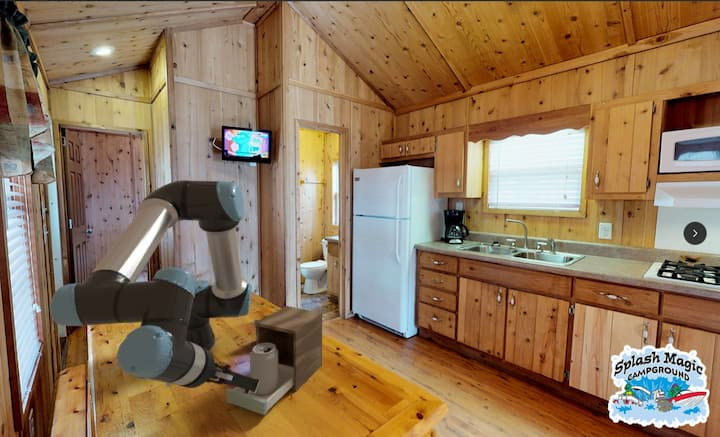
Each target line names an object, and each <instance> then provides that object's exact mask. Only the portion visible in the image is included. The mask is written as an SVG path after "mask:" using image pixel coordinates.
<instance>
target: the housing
mask: <svg viewBox="0 0 720 437" xmlns="http://www.w3.org/2000/svg"><path fill="white" fill-rule="evenodd" d="M266 316H267V317H266ZM266 316H265V317H266V318H264V317H263V318H264V319H263V318H261V319H262V320H261V319H259V320H260V321H258V322H257V338H256V345H258V344H261V343H272V344H274V345H275V346H276V349H277V350H278V363H281V364H284V365H288V366H291V367H294V385H293V386H292V387H291V388H290V389H289V390H288V391H292V392H297V391H298V390H300V388H301V387H302V386H304V385H305V383H306V382H307V381H308V380H309V379H310V378H311V377H312V376H313V375H315V373H316V372H317V371H319V369H320V368H322V366H323V312H320V311H314V310H311V309H310V310H309V309H304V308H300V307H299V308H298V307H294V306H289V305H285V306H284V307H281V308H280V309H277V310H276V311H275V312H272V313H271V314H269V316H268V315H266Z"/></svg>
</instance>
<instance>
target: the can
mask: <svg viewBox="0 0 720 437" xmlns="http://www.w3.org/2000/svg"><path fill="white" fill-rule="evenodd" d="M249 373H250V374H249V377H251V378H253V379H258V380H259V381H260V382H259V385H258V387H257V390H256V393H255V394H257V395H267V394H269V393H271V392H273V391H274V390H275V389H276V388H277V386H278V350H277V349H276V346H275V345H274V344H272V343H261V344H258V345H257V344H256V345H255V346H253V348H252V350H251V352H250V354H249Z"/></svg>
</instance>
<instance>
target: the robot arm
mask: <svg viewBox="0 0 720 437" xmlns="http://www.w3.org/2000/svg"><path fill="white" fill-rule="evenodd" d="M244 217H245V201H244V196H243V193H242V190H241V188H240V186H239V185H238V184H237V183H236V182H233V181H224V180H219V181H218V180H187V179H186V180H185V179H182V180H177V181H172V182H169V183H166V184H164V185H163V186H160V187H158V188H157V189H155V190H154V191H151V193H149V194H148V195H147V196H146V197H145V198H144V199H143V200H141V202H140V203H139V205H138V207H137V214H136V215H135V217H134V218H133V220H132V221H131V222H130V223H129V224H128V225H127V227H126V229H124V230H123V232H122V234H120V236H119V237H118V239H116V241H115V242H114V244H113V245H112V246H111V248H109V250H108V251H107V252H106V253H105V255H104V256H103V257H102V259H100V261H99V263H98V264H97V265H96V266H95V268H94V269H93V270H92V272H91V273H90V274H89V275H88V276H87V277H86V279H85V280H84V281H83V282H81V283H80V282H75V283H69V284H65V285H63V286H60V287H59V288H58V289H57V290H56V291H55V293H54V294H53V296H52V298H51V300H50V304H49V314H50V317H51V318H52V320H53V321H54V322H55V323H56V325H60V326H66V327H71V326H72V327H87V326H93V325H94V326H97V325H111V324H112V325H113V324H114V325H115V324H128V323H129V324H131V323H133V324H134V323H141V324H140V326H138V327H137V328H135V329H133V330H132V331H131V332H129V333H128V334H127V335H126V336H125V339H124V340H123V341H122V342H121V343H120V344H119V346H118V349H117V354H116V360H117V361H116V362H117V365H118V367H119V368H120V369H121V370H122V372H125V373H127V374H129V375H131V376H134V377H136V378H139V379H142V380H143V379H144V380H145V379H147V380H152V381H158V382H162V383H165V387H167V388H171V386H172V385H176V386H179V387H184V388H187V389H195V388H198V387H200V386H202V385H204V384H205V383H209V384H210V383H213V384H217V385H220V386H221V385H223V384H224V385H226V384H227V385H230V386H233V387H235V388H236V387H240V388H243V390H245V392H244V393H246V394H248V392H249V391H250V392H254V393H256V390H257V387H258V385H259V382H260V381H259V380H258V379H253V378H251V377H250V376H247V375H244V374H242V373H241V374H240V373H238V372H235V371H232V370H231V369H229V368H228V367H226V366H222V365H221V364H220V365H219V363H217V362H215V357H214V355H213V353H212V352H211V351H210V349H212V348H213V347H215V345H216V335H215V333H214V330H213V328H212V325H211V323H210V319H219V318H220V319H221V318H222V319H224V318H225V319H226V318H229V319H230V318H239V317H245V316H248V315H249V312H250V307H251V303H252V302H251V301H252V300H251V299H252V294H253V293H252V292H253V285H252V284H250V283H248V282H247V279H246V278H245V277H243V276H242V270H241V262H240V254H239V247H238V238H237V231H236V230H237V229H236V228H237V227H238V226H239V225H240V221H242V220H243V219H244ZM180 221H197V222H198V226H199V228H200V230H202V231H204V232H205V234H206V240H207V245H208V250H209V254H210V255H209V256H210V261H211V265H212V272H213V276H214V282H213V283H212V285H210V282H209V281H208V280H197V279H196V276H195V275H194V273H193V272H192V271H190V270H188V269H184V268H181V267H172V266H171V267H165V268H161V269H158V270H157V271H156V273H155V275H153V276H154V277H152V280H150V281H149V280H146V281H144V280H143V281H138V279H139V277H140V275H141V274H142V272H143V271H144V269H145V267H146V266H147V264H148V262H149V260H150V259H151V257H152V256H153V254H154V252H155V250H156V249H157V248H158V246H159V245H160V242H161V241H162V239H163V237H164V236H165V234H166V232H167V231H168V229H170V228H173V227H174V226H175V225H176V224H177V223H178V222H180Z"/></svg>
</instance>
